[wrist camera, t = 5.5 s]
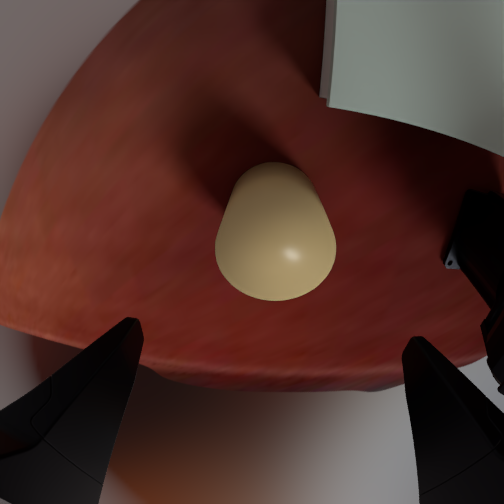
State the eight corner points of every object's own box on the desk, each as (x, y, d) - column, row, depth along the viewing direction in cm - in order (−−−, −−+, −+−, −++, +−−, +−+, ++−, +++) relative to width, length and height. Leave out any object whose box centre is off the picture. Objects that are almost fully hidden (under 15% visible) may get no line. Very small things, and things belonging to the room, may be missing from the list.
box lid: (502, 156, 11) (509, 159, 11) (326, 106, 11) (328, 106, 11) (510, -1, 6) (516, -2, 5) (335, -79, 6) (337, -84, 5)
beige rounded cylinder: (310, 245, 20) (323, 303, 15) (229, 239, 20) (215, 295, 15) (323, 166, 17) (346, 202, 12) (232, 158, 17) (215, 191, 12)
